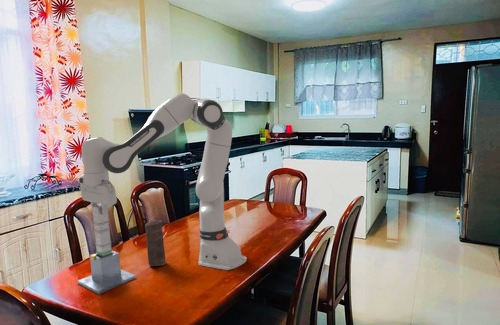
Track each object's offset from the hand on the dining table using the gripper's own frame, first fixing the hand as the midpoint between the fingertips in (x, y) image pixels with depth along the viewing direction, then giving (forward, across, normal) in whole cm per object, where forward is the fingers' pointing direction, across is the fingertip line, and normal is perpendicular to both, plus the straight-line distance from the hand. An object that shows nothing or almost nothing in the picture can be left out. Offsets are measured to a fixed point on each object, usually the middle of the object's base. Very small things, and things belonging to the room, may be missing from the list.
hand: (100, 213), depth 139 cm
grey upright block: (+28, -5, -21) cm, 36 cm away
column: (+19, 0, 0) cm, 19 cm away
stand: (+28, 0, 0) cm, 28 cm away
